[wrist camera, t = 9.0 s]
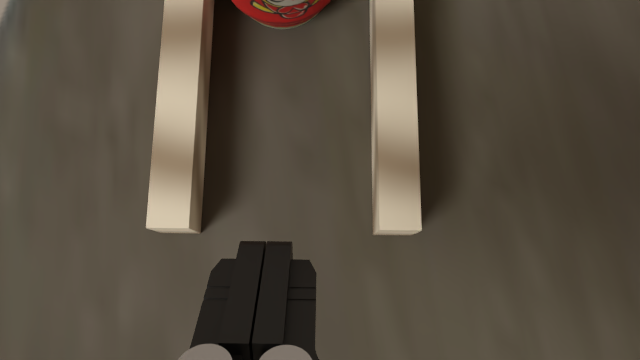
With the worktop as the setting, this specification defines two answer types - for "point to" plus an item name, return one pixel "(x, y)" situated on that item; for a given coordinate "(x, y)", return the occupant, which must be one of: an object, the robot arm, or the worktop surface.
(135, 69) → the worktop surface
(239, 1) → the soda can
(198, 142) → the guide rails
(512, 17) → the worktop surface
